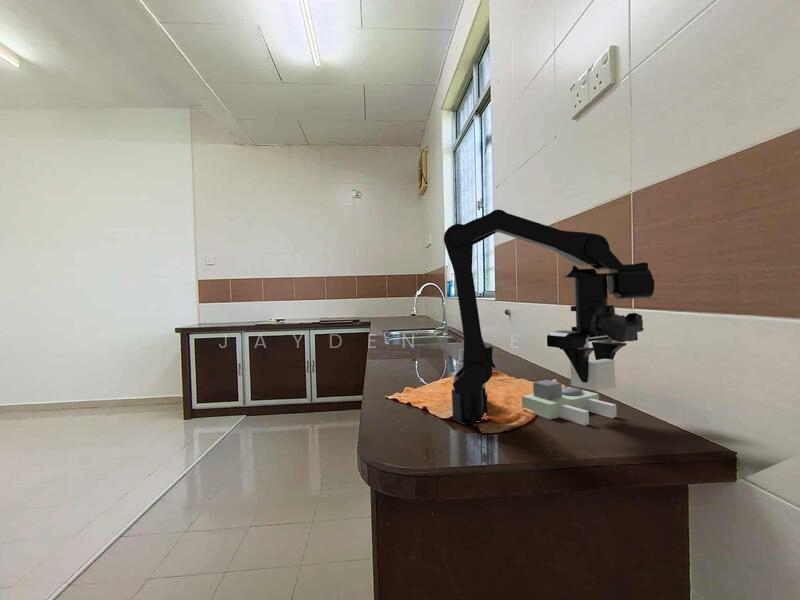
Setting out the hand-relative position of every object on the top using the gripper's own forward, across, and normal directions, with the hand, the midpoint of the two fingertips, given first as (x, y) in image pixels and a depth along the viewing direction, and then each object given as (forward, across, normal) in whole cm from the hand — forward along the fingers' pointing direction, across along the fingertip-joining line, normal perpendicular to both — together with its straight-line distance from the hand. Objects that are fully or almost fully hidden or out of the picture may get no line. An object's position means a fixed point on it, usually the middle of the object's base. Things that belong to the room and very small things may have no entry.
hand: (594, 380), depth 79 cm
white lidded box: (+1, 0, 0) cm, 1 cm away
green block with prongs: (+8, 0, +6) cm, 10 cm away
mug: (+8, -12, +26) cm, 30 cm away
